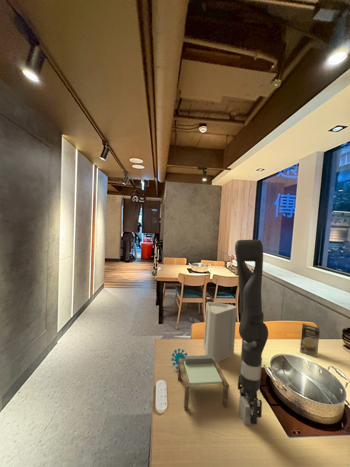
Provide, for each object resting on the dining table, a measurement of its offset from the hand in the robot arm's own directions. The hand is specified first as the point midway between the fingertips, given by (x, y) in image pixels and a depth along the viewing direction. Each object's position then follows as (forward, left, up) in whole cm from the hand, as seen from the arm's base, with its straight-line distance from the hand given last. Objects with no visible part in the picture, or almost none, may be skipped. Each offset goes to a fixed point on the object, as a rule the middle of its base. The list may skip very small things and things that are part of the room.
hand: (247, 413), depth 82 cm
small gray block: (0, 0, +1) cm, 1 cm away
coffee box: (-61, -40, -2) cm, 73 cm away
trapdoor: (+15, -15, +6) cm, 22 cm away
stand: (+15, -15, -2) cm, 21 cm away
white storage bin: (-1, -43, -2) cm, 43 cm away
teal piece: (+21, -32, -2) cm, 39 cm away
